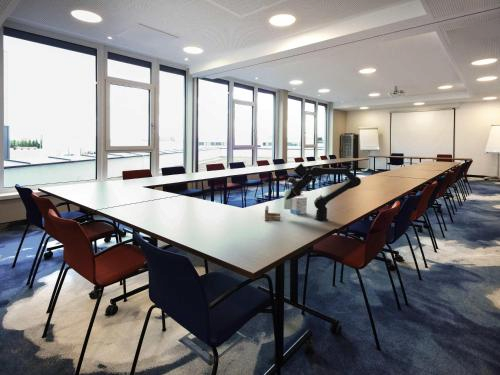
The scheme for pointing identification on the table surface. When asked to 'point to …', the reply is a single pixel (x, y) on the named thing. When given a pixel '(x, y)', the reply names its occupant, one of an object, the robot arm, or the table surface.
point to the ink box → (299, 205)
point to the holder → (271, 215)
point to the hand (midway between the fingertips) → (286, 198)
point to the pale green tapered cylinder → (287, 202)
